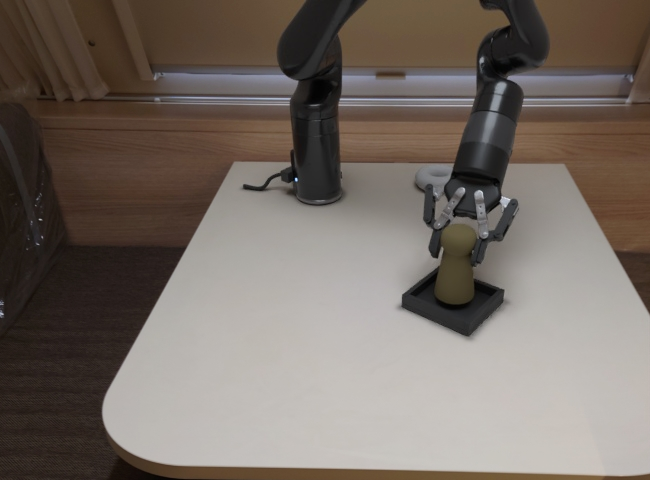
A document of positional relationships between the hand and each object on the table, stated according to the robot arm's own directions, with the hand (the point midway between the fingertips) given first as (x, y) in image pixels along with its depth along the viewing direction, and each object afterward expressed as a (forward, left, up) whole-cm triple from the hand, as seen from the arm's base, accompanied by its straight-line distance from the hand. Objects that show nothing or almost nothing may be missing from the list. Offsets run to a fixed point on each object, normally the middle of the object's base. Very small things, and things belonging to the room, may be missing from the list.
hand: (453, 260), depth 82 cm
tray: (0, +2, -9) cm, 9 cm away
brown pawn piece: (0, +2, -7) cm, 7 cm away
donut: (-25, +37, -9) cm, 45 cm away
